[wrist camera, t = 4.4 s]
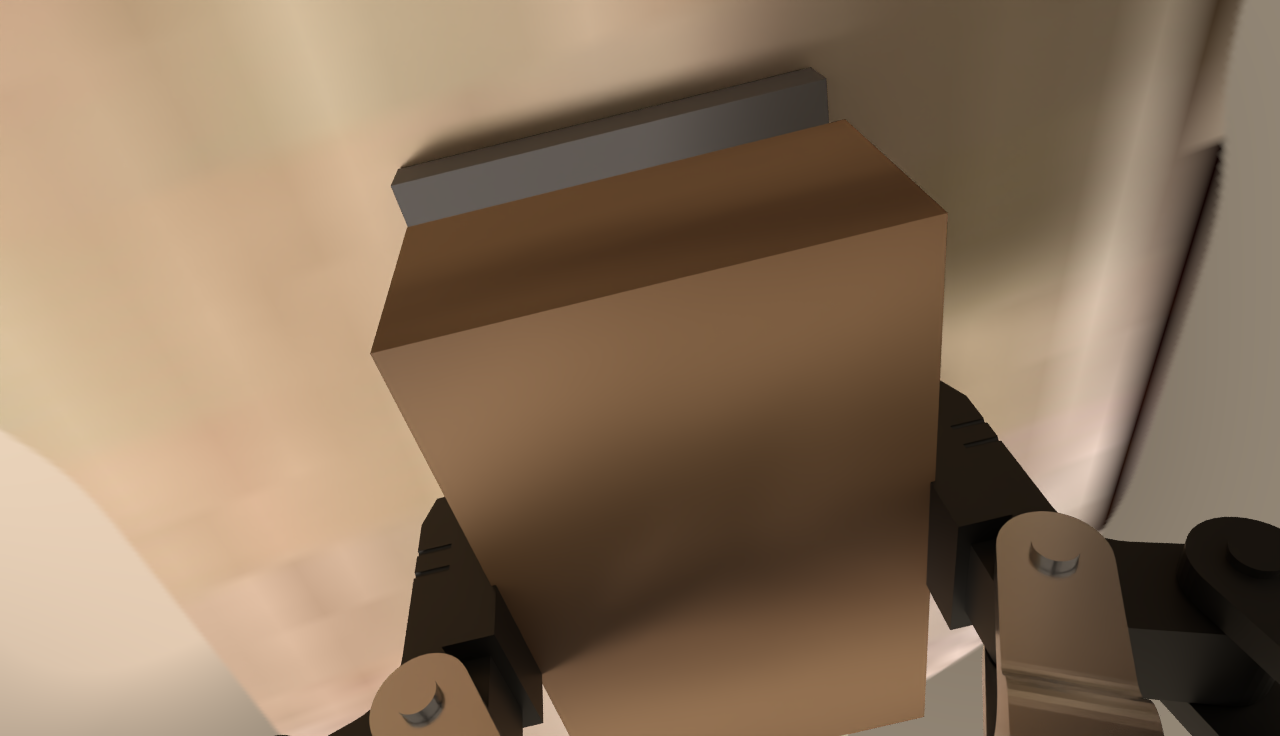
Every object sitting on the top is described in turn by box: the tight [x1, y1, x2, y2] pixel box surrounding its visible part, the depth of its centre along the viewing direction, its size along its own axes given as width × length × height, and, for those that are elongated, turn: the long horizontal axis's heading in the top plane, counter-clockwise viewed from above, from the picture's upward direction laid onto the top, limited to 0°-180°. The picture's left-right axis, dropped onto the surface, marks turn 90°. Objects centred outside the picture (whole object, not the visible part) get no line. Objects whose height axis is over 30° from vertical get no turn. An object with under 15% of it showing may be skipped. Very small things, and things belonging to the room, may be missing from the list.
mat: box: [391, 67, 829, 227], centre depth 18 cm, size 9×9×1 cm
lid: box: [370, 119, 948, 736], centre depth 12 cm, size 10×6×3 cm, turn 12°
